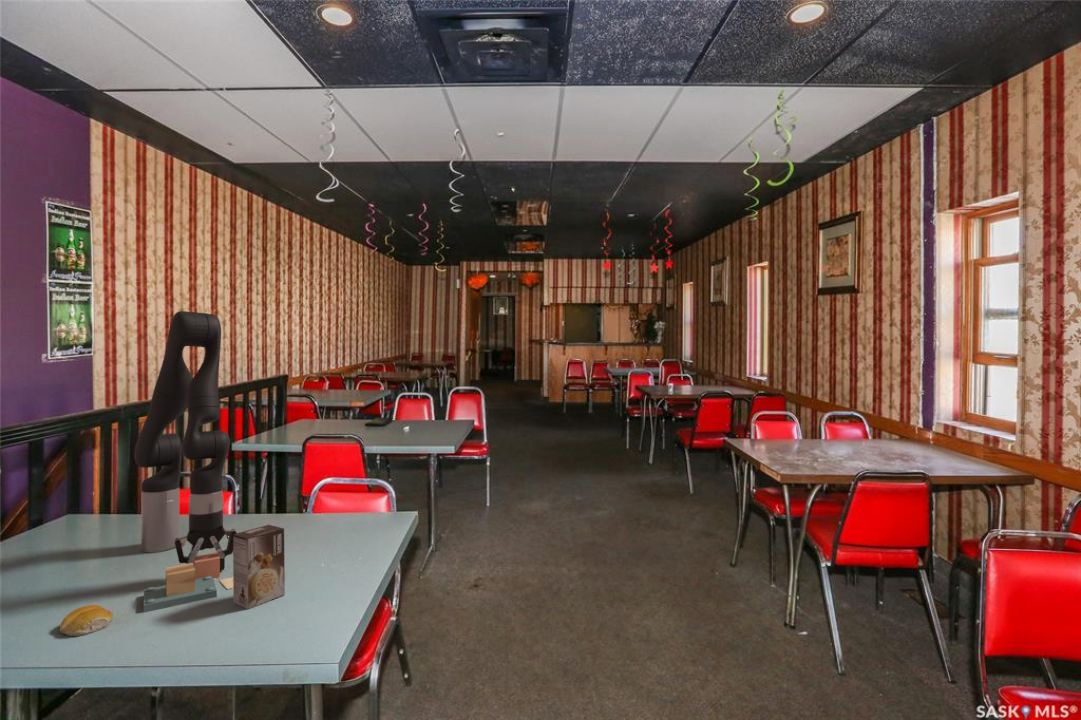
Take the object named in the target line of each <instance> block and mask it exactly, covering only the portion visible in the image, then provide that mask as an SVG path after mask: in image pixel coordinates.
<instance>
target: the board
mask: <svg viewBox="0 0 1081 720" xmlns="http://www.w3.org/2000/svg"><path fill="white" fill-rule="evenodd" d="M217 592H218V591H217V587H216V584H215V579H213V577H212V576H206V577H204V578H201V579H196V580H195V591H194V592H189V593H184V594H179V595H174V596H169V597H167V595H166V584H165V585H160V586H157V587H156V586H155V587H154V586H150V587H146V588H145V589H143V613H146V612H151V611H155V610H156V611H157V610H160V609H164V608H169V607H174V606H179V605H184V604H189V603H193V601H194V602H197V601H203V600H207V599H211V598H216V597H217V596H218V595H217Z"/></svg>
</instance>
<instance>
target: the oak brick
mask: <svg viewBox="0 0 1081 720" xmlns="http://www.w3.org/2000/svg"><path fill="white" fill-rule="evenodd" d="M165 585H166V595H167V597H169V596H174V595H179V594H184V593H189V592H194V591H195V568H194V564H193V563H189V564H186V563H182V564H178V565H174V566H173V565H171V566H167V567H165Z"/></svg>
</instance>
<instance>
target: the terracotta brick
mask: <svg viewBox="0 0 1081 720" xmlns="http://www.w3.org/2000/svg"><path fill="white" fill-rule="evenodd" d="M193 562H194V568H195V580H196V579H201V578H204V577H206V576H212V577H213V580H215V579H214V578H216V579H219V577H221V576H220V575H221V573H220V558H219V555H218V553H217V551H216V552H210V553H204V554H199V555H198V554H197V555H196V557H195V559H194V561H193Z"/></svg>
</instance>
